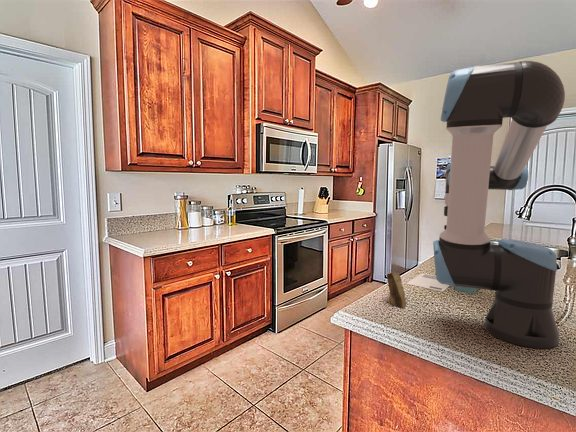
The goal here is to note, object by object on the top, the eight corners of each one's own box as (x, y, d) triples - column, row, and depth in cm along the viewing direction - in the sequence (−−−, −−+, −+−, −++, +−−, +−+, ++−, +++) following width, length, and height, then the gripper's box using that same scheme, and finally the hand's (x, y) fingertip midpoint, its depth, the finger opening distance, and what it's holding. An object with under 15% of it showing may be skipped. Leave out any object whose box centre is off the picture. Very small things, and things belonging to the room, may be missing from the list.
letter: (443, 291, 112) (443, 291, 112) (405, 283, 121) (405, 283, 121) (456, 279, 126) (456, 279, 126) (421, 273, 134) (422, 273, 134)
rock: (389, 285, 112) (373, 287, 105) (405, 269, 108) (389, 270, 101) (410, 312, 105) (394, 316, 99) (429, 295, 101) (413, 298, 95)
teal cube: (473, 294, 110) (475, 277, 110) (454, 290, 114) (455, 273, 114) (477, 289, 115) (478, 273, 114) (458, 286, 119) (459, 270, 118)
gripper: (452, 205, 126) (448, 265, 127) (437, 205, 117) (434, 269, 119) (473, 206, 120) (469, 268, 122) (459, 206, 112) (455, 273, 113)
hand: (451, 269), depth 120 cm, fingers closed
